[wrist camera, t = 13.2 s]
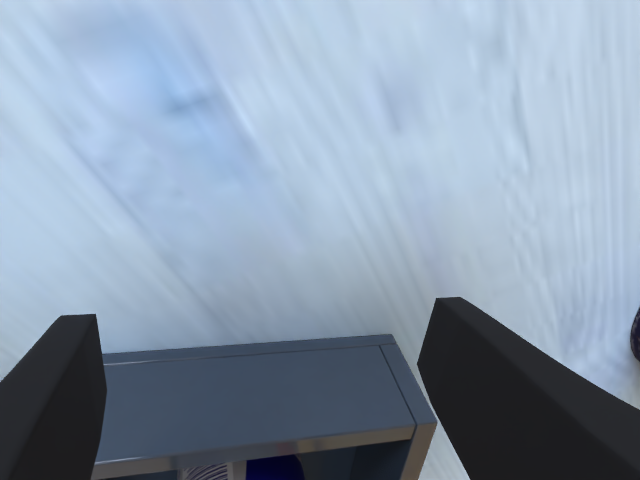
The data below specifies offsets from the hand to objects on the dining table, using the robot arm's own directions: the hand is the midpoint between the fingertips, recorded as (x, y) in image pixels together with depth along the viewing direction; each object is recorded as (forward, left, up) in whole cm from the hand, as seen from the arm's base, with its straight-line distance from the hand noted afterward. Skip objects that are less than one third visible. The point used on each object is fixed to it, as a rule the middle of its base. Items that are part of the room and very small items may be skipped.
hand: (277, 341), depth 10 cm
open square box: (0, -12, -7) cm, 14 cm away
